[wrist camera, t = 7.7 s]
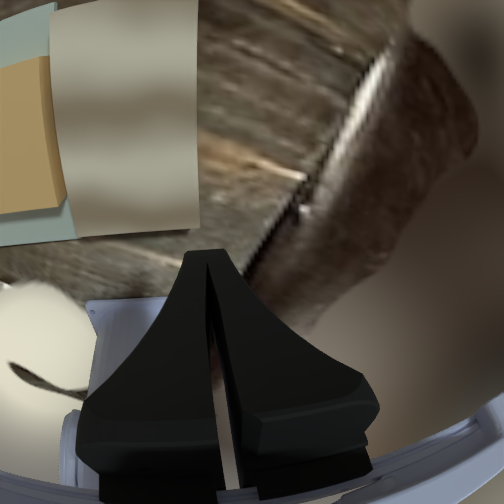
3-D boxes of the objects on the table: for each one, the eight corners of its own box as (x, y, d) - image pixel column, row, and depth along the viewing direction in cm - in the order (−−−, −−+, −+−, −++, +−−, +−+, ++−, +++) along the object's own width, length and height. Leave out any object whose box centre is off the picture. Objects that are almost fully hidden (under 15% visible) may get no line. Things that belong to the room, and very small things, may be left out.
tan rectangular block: (68, 192, 18) (58, 206, 16) (-2, 202, 17) (-15, 216, 15) (52, 55, 13) (38, 56, 11) (-23, 78, 12) (-40, 83, 10)
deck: (199, 212, 21) (200, 227, 20) (85, 221, 20) (77, 237, 18) (198, -4, 13) (198, -11, 12) (62, 15, 12) (49, 12, 10)
